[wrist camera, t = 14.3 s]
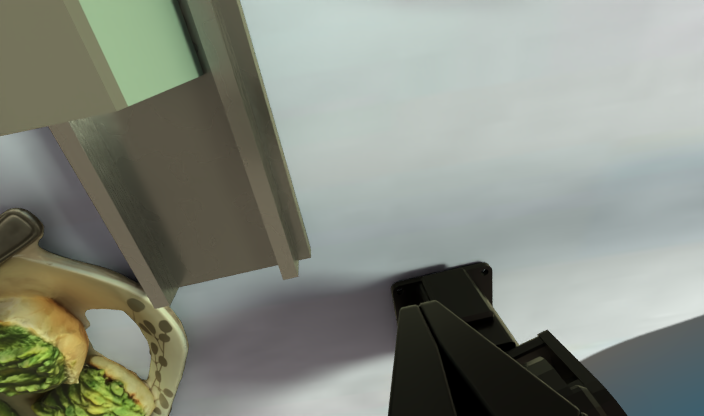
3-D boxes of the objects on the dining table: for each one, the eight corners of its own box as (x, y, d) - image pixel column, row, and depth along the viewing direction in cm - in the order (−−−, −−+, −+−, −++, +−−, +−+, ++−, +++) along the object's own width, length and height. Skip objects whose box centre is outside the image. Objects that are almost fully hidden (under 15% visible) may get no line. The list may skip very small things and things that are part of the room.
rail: (310, 247, 21) (311, 285, 18) (158, 282, 21) (133, 326, 18) (192, -166, 13) (156, -230, 10) (-61, -118, 12) (-182, -167, 9)
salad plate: (-162, 129, 16) (-327, 163, 12) (236, 256, 21) (219, 310, 17) (-145, 406, 22) (-246, 490, 18) (153, 450, 28) (127, 522, 24)
